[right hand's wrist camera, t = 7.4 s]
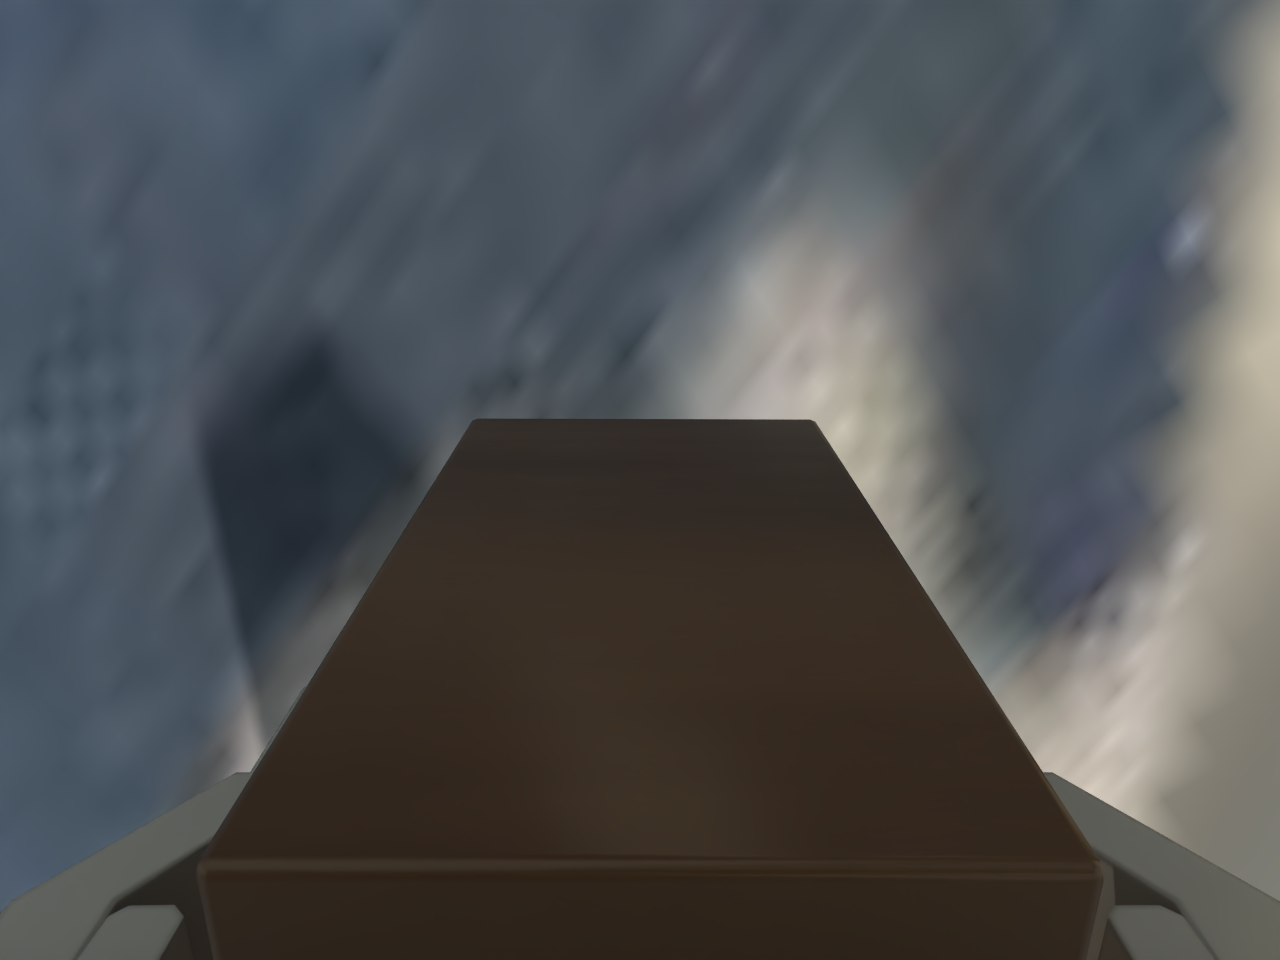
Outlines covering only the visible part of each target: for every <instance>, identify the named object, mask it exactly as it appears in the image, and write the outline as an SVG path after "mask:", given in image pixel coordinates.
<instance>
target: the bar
mask: <svg viewBox="0 0 1280 960" xmlns="http://www.w3.org/2000/svg"><path fill="white" fill-rule="evenodd" d="M196 879H197V884H198V889H199V894H200V898H201V903H202V908H203V913H204V918H205V922H206V927H207V932H208V937H209V942H210V946H211V951H212V956H213V960H1086V957H1087V953H1088V948H1089V944H1090V939H1091V935H1092V931H1093V926H1094V922H1095V917H1096V913H1097V909H1098V904H1099V900H1100V895H1101V891H1102V887H1103V882H1104V879H1103V870H1102V866H1101V863H1100V860H1099V858H1098V857H1097V855H1096V854H1095V852H1094V850H1093V849H1092V847H1091V846H1090V844H1089V843H1088V841H1087V840H1086V838H1085V837H1084V835H1083V834H1082V832H1081V830H1080V829H1079V827H1078V826H1077V824H1076V823H1075V821H1074V820H1073V818H1072V817H1071V815H1070V814H1069V812H1068V810H1067V809H1066V807H1065V806H1064V804H1063V803H1062V801H1061V800H1060V798H1059V797H1058V795H1057V793H1056V792H1055V790H1054V789H1053V787H1052V786H1051V784H1050V783H1049V781H1048V780H1047V778H1046V777H1045V775H1044V773H1043V772H1042V770H1041V769H1040V767H1039V766H1038V764H1037V763H1036V761H1035V760H1034V758H1033V757H1032V755H1031V753H1030V752H1029V750H1028V749H1027V747H1026V746H1025V744H1024V743H1023V741H1022V740H1021V738H1020V736H1019V735H1018V733H1017V732H1016V730H1015V729H1014V727H1013V726H1012V724H1011V723H1010V721H1009V720H1008V718H1007V716H1006V715H1005V713H1004V712H1003V710H1002V709H1001V707H1000V706H999V704H998V703H997V701H996V700H995V698H994V696H993V695H992V693H991V692H990V690H989V689H988V687H987V686H986V684H985V683H984V681H983V679H982V678H981V676H980V675H979V673H978V672H977V670H976V669H975V667H974V666H973V664H972V663H971V661H970V659H969V658H968V656H967V655H966V653H965V652H964V650H963V649H962V647H961V646H960V644H959V643H958V641H957V639H956V638H955V636H954V635H953V633H952V632H951V630H950V629H949V627H948V626H947V624H946V623H945V621H944V619H943V618H942V616H941V615H940V613H939V612H938V610H937V609H936V607H935V606H934V604H933V602H932V601H931V599H930V598H929V596H928V595H927V593H926V592H925V590H924V589H923V587H922V586H921V584H920V582H919V581H918V579H917V578H916V576H915V575H914V573H913V572H912V570H911V569H910V567H909V566H908V564H907V562H906V561H905V559H904V558H903V556H902V555H901V553H900V552H899V550H898V549H897V547H896V545H895V544H894V542H893V541H892V539H891V538H890V536H889V535H888V533H887V532H886V530H885V529H884V527H883V525H882V524H881V522H880V521H879V519H878V518H877V516H876V515H875V513H874V512H873V510H872V509H871V507H870V505H869V504H868V502H867V501H866V499H865V498H864V496H863V495H862V493H861V492H860V490H859V488H858V487H857V485H856V484H855V482H854V481H853V479H852V478H851V476H850V475H849V473H848V472H847V470H846V468H845V467H844V465H843V464H842V462H841V461H840V459H839V458H838V456H837V455H836V453H835V452H834V450H833V448H832V447H831V445H830V444H829V442H828V441H827V439H826V438H825V436H824V435H823V433H822V432H821V430H820V428H819V427H818V425H817V424H816V422H814V421H812V420H728V419H476V420H473V421H472V422H471V424H470V425H469V427H468V429H467V430H466V432H465V433H464V435H463V437H462V438H461V440H460V442H459V443H458V445H457V446H456V448H455V450H454V451H453V453H452V454H451V456H450V458H449V459H448V461H447V462H446V464H445V466H444V467H443V469H442V470H441V472H440V474H439V475H438V477H437V478H436V480H435V482H434V483H433V485H432V486H431V488H430V490H429V491H428V493H427V495H426V496H425V498H424V499H423V501H422V503H421V504H420V506H419V507H418V509H417V511H416V512H415V514H414V515H413V517H412V519H411V520H410V522H409V523H408V525H407V527H406V528H405V530H404V531H403V533H402V535H401V536H400V538H399V539H398V541H397V543H396V544H395V546H394V548H393V549H392V551H391V552H390V554H389V556H388V557H387V559H386V560H385V562H384V564H383V565H382V567H381V568H380V570H379V572H378V573H377V575H376V576H375V578H374V580H373V581H372V583H371V584H370V586H369V588H368V589H367V591H366V592H365V594H364V596H363V597H362V599H361V601H360V602H359V604H358V605H357V607H356V609H355V610H354V612H353V613H352V615H351V617H350V618H349V620H348V621H347V623H346V625H345V626H344V628H343V629H342V631H341V633H340V634H339V636H338V637H337V639H336V641H335V642H334V644H333V646H332V647H331V649H330V650H329V652H328V654H327V655H326V657H325V658H324V660H323V662H322V663H321V665H320V666H319V668H318V670H317V671H316V673H315V674H314V676H313V678H312V679H311V681H310V682H309V684H308V686H307V687H306V689H305V690H304V692H303V694H302V695H301V697H300V699H299V700H298V702H297V703H296V705H295V707H294V708H293V710H292V711H291V713H290V715H289V716H288V718H287V719H286V721H285V723H284V724H283V726H282V727H281V729H280V731H279V732H278V734H277V735H276V737H275V739H274V740H273V742H272V743H271V745H270V747H269V748H268V750H267V752H266V753H265V755H264V756H263V758H262V760H261V761H260V763H259V764H258V766H257V768H256V769H255V771H254V772H253V774H252V776H251V777H250V779H249V780H248V782H247V784H246V785H245V787H244V788H243V790H242V792H241V793H240V795H239V796H238V798H237V800H236V801H235V803H234V805H233V806H232V808H231V809H230V811H229V813H228V814H227V816H226V817H225V819H224V821H223V822H222V824H221V825H220V827H219V829H218V830H217V832H216V833H215V835H214V837H213V838H212V840H211V841H210V843H209V845H208V846H207V848H206V849H205V851H204V853H203V854H202V856H201V858H200V861H199V864H198V867H197V878H196Z"/></svg>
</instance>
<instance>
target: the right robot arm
mask: <svg viewBox="0 0 1280 960" xmlns="http://www.w3.org/2000/svg"><path fill="white" fill-rule="evenodd" d="M305 689H306V687H305V688H304V689H303V690H302V691H301V693H300V694H299V696H298V697H297V699H296V701H295V702H294V704H293V705H292V707H291V708H290V710H289V712H288V713H287V715H286V716H285V718H284V720H283V721H282V723H281V724H280V726H279V728H278V729H277V731H276V732H275V734H274V735H273V737H272V739H271V740H270V742H269V743H268V745H267V747H266V748H265V750H264V751H263V753H262V754H261V756H260V758H259V759H258V761H257V762H256V764H255V766H254V767H253V769H252V770H251V772H241V773H235V774H233V775H231V776H230V777H228V778H226V779H224V780H223V781H221V782H219V783H217V784H215V785H214V786H212V787H210V788H208V789H207V790H205V791H203V792H201V793H200V794H198V795H196V796H194V797H193V798H191V799H189V800H187V801H186V802H184V803H182V804H180V805H179V806H177V807H175V808H173V809H172V810H170V811H168V812H166V813H165V814H163V815H161V816H159V817H158V818H156V819H154V820H152V821H151V822H149V823H147V824H145V825H144V826H142V827H140V828H138V829H137V830H135V831H133V832H131V833H130V834H128V835H126V836H124V837H123V838H121V839H119V840H117V841H116V842H114V843H112V844H110V845H108V846H107V847H105V848H103V849H101V850H100V851H98V852H96V853H94V854H93V855H91V856H89V857H87V858H86V859H84V860H82V861H80V862H79V863H77V864H75V865H73V866H72V867H70V868H68V869H66V870H65V871H63V872H61V873H59V874H58V875H56V876H54V877H52V878H51V879H49V880H47V881H45V882H44V883H42V884H40V885H38V886H37V887H35V888H33V889H31V890H30V891H28V892H26V893H24V894H23V895H21V896H19V897H17V898H16V899H14V900H12V901H11V902H10V903H9V904H8V905H7V906H6V907H5V909H4V910H3V911H2V912H1V913H0V960H213V956H212V951H211V946H210V942H209V937H208V932H207V927H206V922H205V918H204V913H203V908H202V903H201V898H200V894H199V889H198V884H197V879H196V878H197V867H198V864H199V861H200V858H201V856H202V854H203V853H204V851H205V849H206V848H207V846H208V845H209V843H210V841H211V840H212V838H213V837H214V835H215V833H216V832H217V830H218V829H219V827H220V825H221V824H222V822H223V821H224V819H225V817H226V816H227V814H228V813H229V811H230V809H231V808H232V806H233V805H234V803H235V801H236V800H237V798H238V796H239V795H240V793H241V792H242V790H243V788H244V787H245V785H246V784H247V782H248V780H249V779H250V777H251V776H252V774H253V772H254V771H255V769H256V768H257V766H258V764H259V763H260V761H261V760H262V758H263V756H264V755H265V753H266V752H267V750H268V748H269V747H270V745H271V743H272V742H273V740H274V739H275V737H276V735H277V734H278V732H279V731H280V729H281V727H282V726H283V724H284V723H285V721H286V719H287V718H288V716H289V715H290V713H291V711H292V710H293V708H294V707H295V705H296V703H297V702H298V700H299V699H300V697H301V695H302V694H303V692H304V690H305ZM1043 773H1044V775H1045V777H1046V778H1047V780H1048V781H1049V783H1050V784H1051V786H1052V787H1053V789H1054V790H1055V792H1056V793H1057V795H1058V797H1059V798H1060V800H1061V801H1062V803H1063V804H1064V806H1065V807H1066V809H1067V810H1068V812H1069V814H1070V815H1071V817H1072V818H1073V820H1074V821H1075V823H1076V824H1077V826H1078V827H1079V829H1080V830H1081V832H1082V834H1083V835H1084V837H1085V838H1086V840H1087V841H1088V843H1089V844H1090V846H1091V847H1092V849H1093V850H1094V852H1095V854H1096V855H1097V857H1098V858H1099V860H1100V863H1101V866H1102V870H1103V879H1104V882H1103V887H1102V891H1101V895H1100V900H1099V904H1098V909H1097V913H1096V917H1095V922H1094V926H1093V931H1092V935H1091V939H1090V944H1089V948H1088V953H1087V957H1086V960H1280V901H1278V900H1276V899H1275V898H1273V897H1271V896H1269V895H1268V894H1266V893H1264V892H1262V891H1261V890H1259V889H1257V888H1255V887H1253V886H1252V885H1250V884H1248V883H1246V882H1245V881H1243V880H1241V879H1239V878H1238V877H1236V876H1234V875H1232V874H1231V873H1229V872H1227V871H1225V870H1223V869H1222V868H1220V867H1218V866H1216V865H1215V864H1213V863H1211V862H1209V861H1208V860H1206V859H1204V858H1202V857H1201V856H1199V855H1197V854H1195V853H1194V852H1192V851H1190V850H1188V849H1186V848H1185V847H1183V846H1181V845H1179V844H1178V843H1176V842H1174V841H1172V840H1171V839H1169V838H1167V837H1165V836H1164V835H1162V834H1160V833H1158V832H1156V831H1155V830H1153V829H1151V828H1149V827H1148V826H1146V825H1144V824H1142V823H1141V822H1139V821H1137V820H1135V819H1134V818H1132V817H1130V816H1128V815H1126V814H1125V813H1123V812H1121V811H1119V810H1118V809H1116V808H1114V807H1112V806H1111V805H1109V804H1107V803H1105V802H1104V801H1102V800H1100V799H1098V798H1096V797H1095V796H1093V795H1091V794H1089V793H1088V792H1086V791H1084V790H1082V789H1081V788H1079V787H1077V786H1075V785H1074V784H1072V783H1070V782H1068V781H1066V780H1065V779H1063V778H1061V777H1059V776H1058V775H1056V774H1054V773H1049V772H1043Z"/></svg>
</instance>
